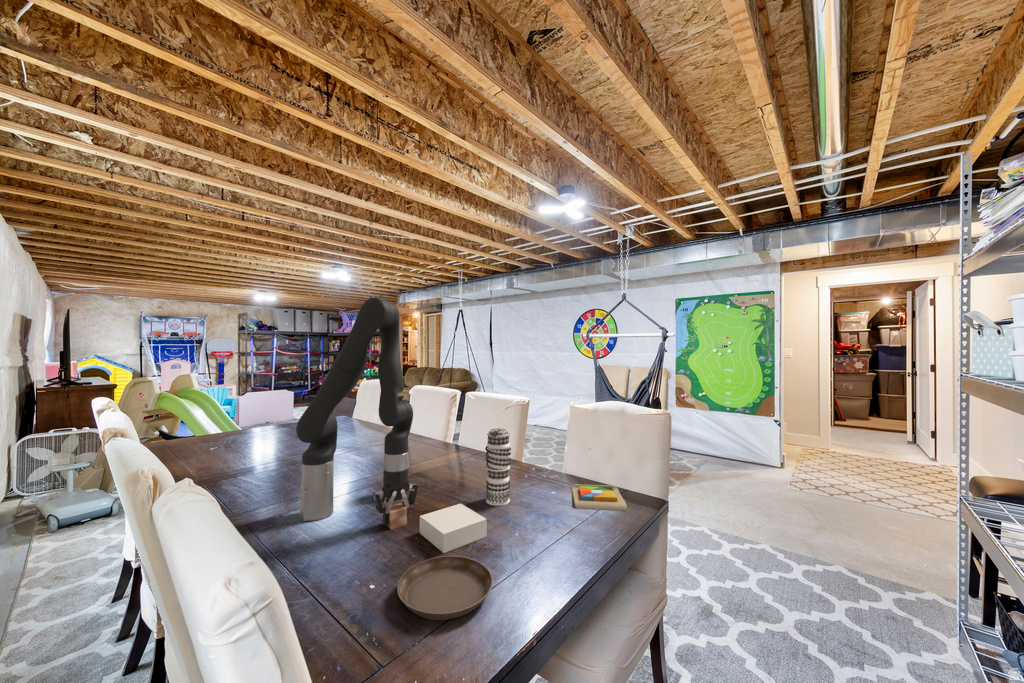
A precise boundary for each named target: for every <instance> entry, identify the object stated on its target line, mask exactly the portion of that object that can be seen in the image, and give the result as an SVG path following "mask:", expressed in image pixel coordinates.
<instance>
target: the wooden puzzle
mask: <svg viewBox="0 0 1024 683" xmlns="http://www.w3.org/2000/svg"><path fill="white" fill-rule="evenodd" d="M571 492H572V498H573V504H574V507H575V508H576V509H579V510H594V511H595V510H599V511H601V510H602V511H603V510H604V511H616V512H617V511H620V512H625V511H626V510H627V507H628V506H627V503H626V500H625V499H624V498H623V496H622V495H621V493H620V491H619V488H618V487H617V486H615V485H607V484H606V485H603V484H602V485H601V484H600V485H599V484H577V483H575V484H573V485H572V487H571Z"/></svg>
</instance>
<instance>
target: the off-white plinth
mask: <svg viewBox="0 0 1024 683" xmlns="http://www.w3.org/2000/svg"><path fill="white" fill-rule="evenodd" d="M487 520H488V519H487V518H486V517H484V516H482V515H480V514H479V513H477V512H476V511H474V510H473V509H471V508H469V507H467V506H466V505H464V504H463V503H461V502H460V503H457V504H454V505H451V506H448V507H445V508H442V509H439V510H438V509H437V510H435V511H431V512H428V513H425V514H421V515H419V534H420V535H421V536H422V537H423V538H425V539H426V540H427V541H428V542H430V543H431V544H432V545H434V546H435V547H436V549H438V550H439V551H441V553H443V554H446V553H448V552H450V551H454V550H455V549H456V550H457V549H458V548H460V547H464V546H465V545H469V544H471V543H474V542H476V541H478V540H481V539H484V538H487V536H488V535H487V529H488V528H487V526H488V524H487V523H488V521H487Z"/></svg>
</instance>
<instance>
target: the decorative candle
mask: <svg viewBox="0 0 1024 683" xmlns="http://www.w3.org/2000/svg"><path fill="white" fill-rule="evenodd" d="M486 435H487V442H486V444H487V445H486V446H485V451H486V452H485V456H486V457H485V461H486V463H485V465H486V470H487V476H486V481H485V483H486V486H485V487H486V489H485V493H486V494H485V498H486V499H485V500H486V503H487V504H488V505H491V506H497V507H498V506H501V507H502V506H505V505H507V504H509V503H510V502H511V500H510V497H511V494H510V493H511V490H510V488H511V484H510V483H511V480H510V474H509V472H510V471H509V470H510V469H511V462H510V461H511V460H512V459H511V457H510V456H511V455H512V452H510V451H511V450H512V448H511V447H510V433H509V432H508V431H507V429H505V428H491V429H490V430H489V431H488V433H486Z"/></svg>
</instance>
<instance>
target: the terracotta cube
mask: <svg viewBox="0 0 1024 683" xmlns="http://www.w3.org/2000/svg"><path fill="white" fill-rule="evenodd" d="M406 525H408V518H407V508H406V507H405V506H403V505H402V502H401V503H395V504H392V506H391V508H390V511H389V525H388V526H387V527H388V528H389V529H390V530H393V529H397V528H400V527H404V526H406Z"/></svg>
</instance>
